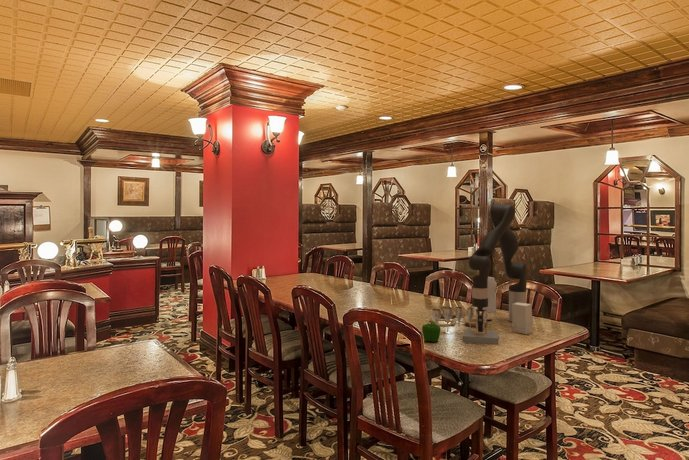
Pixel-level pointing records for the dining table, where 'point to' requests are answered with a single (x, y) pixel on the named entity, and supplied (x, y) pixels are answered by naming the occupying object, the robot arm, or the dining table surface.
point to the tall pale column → (491, 295)
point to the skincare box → (522, 318)
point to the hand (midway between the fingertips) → (480, 329)
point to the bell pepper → (431, 332)
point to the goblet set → (458, 311)
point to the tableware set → (453, 321)
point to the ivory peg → (477, 328)
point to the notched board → (480, 337)
